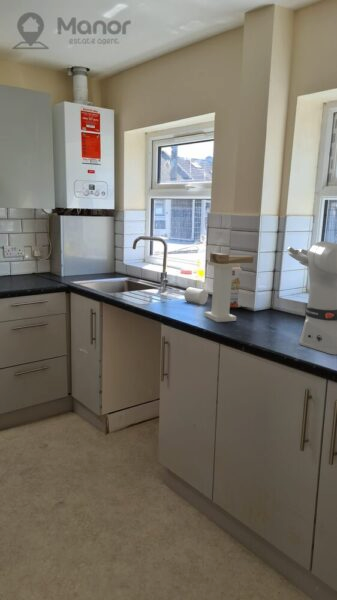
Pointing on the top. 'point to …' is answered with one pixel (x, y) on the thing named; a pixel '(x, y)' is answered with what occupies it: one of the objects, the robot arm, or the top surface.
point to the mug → (196, 295)
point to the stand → (221, 292)
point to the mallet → (229, 258)
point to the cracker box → (235, 286)
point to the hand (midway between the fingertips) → (294, 249)
